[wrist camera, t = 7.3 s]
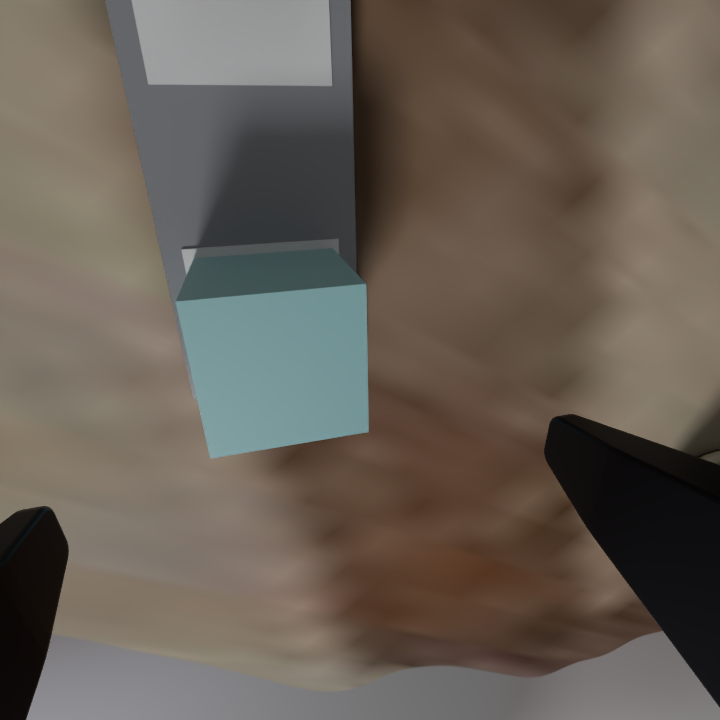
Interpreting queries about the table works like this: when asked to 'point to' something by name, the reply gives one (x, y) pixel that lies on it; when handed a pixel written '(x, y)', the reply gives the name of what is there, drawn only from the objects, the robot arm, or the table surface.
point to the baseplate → (241, 126)
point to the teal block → (276, 348)
